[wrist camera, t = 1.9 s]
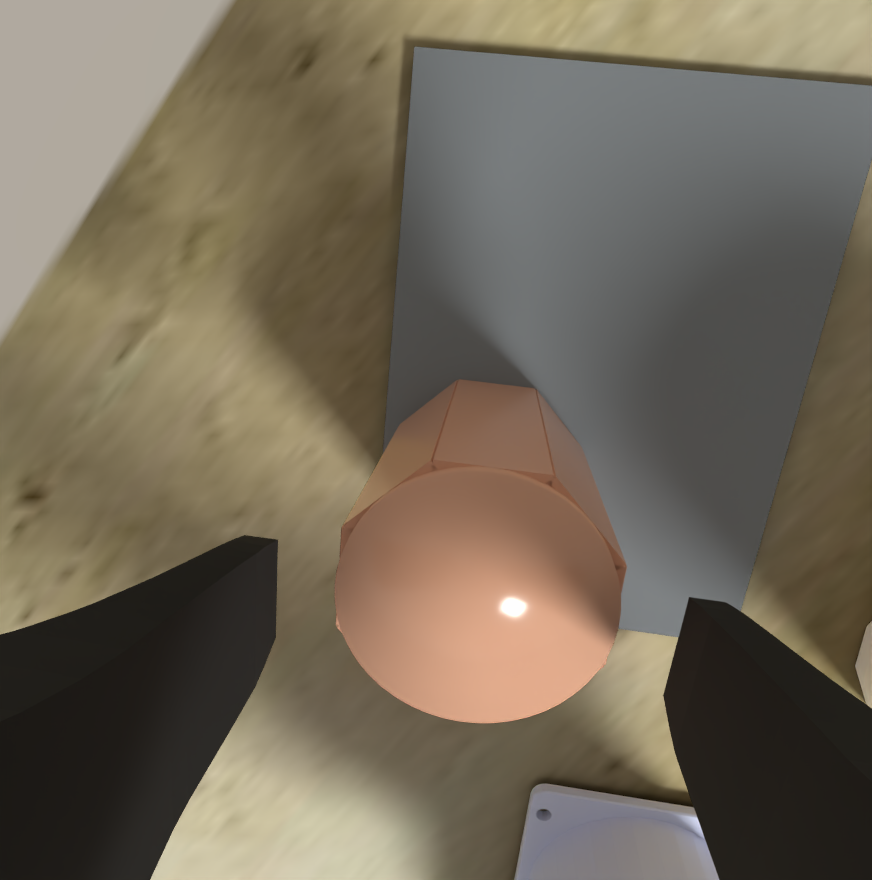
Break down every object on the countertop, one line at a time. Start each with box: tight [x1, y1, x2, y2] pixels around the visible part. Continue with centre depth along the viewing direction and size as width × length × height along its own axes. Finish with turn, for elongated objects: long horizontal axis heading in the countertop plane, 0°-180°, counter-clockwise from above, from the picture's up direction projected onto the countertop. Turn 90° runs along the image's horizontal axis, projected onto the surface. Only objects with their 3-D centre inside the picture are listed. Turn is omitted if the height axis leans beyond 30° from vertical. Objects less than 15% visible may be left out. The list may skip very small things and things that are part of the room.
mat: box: [383, 47, 872, 637], centre depth 17 cm, size 15×11×1 cm
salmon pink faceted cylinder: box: [335, 379, 627, 723], centre depth 15 cm, size 5×5×7 cm
